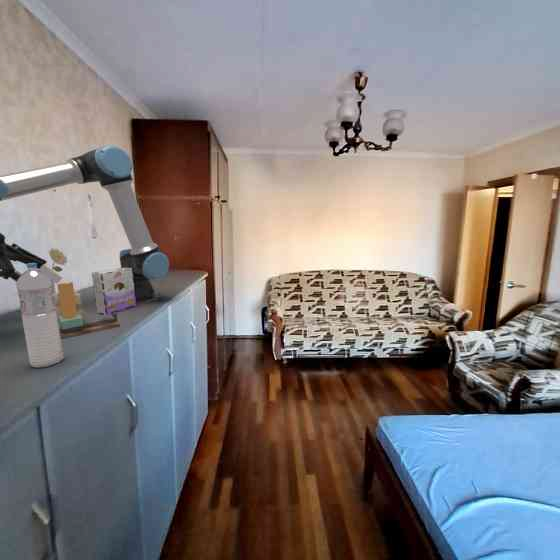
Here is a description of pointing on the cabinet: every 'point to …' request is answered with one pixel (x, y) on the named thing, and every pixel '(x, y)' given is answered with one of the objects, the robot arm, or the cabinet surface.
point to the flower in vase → (57, 261)
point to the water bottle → (39, 317)
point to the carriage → (68, 306)
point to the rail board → (88, 330)
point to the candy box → (114, 290)
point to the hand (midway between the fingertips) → (48, 284)
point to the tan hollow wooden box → (77, 300)
